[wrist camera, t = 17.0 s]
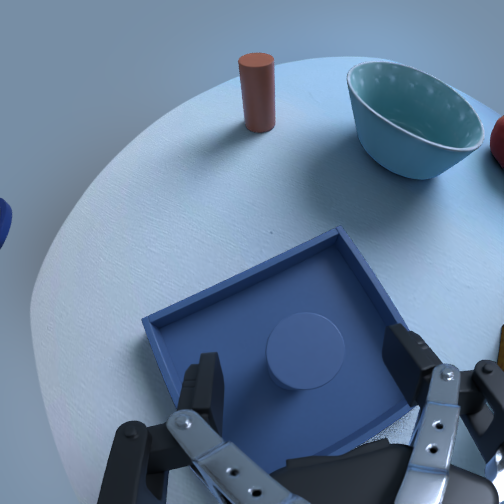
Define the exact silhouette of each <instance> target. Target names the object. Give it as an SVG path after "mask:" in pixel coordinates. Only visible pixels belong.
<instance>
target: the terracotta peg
mask: <svg viewBox="0 0 504 504" xmlns="http://www.w3.org/2000/svg"><path fill="white" fill-rule="evenodd" d="M238 63H239V72H240V81H241V90H242V100H243V109H244V118H245V126H246V128H247V129H248V130H250V131H252V132H257V133H262V132H267V131H269V130H271V129H272V128H273V127H274V126H275V77H274V58H273V57H272V56H271V55H268V54H265V53H250V54H246V55H244V56H242V57H240V58H239V60H238Z"/></svg>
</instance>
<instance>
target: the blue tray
mask: <svg viewBox="0 0 504 504" xmlns="http://www.w3.org/2000/svg"><path fill="white" fill-rule="evenodd" d="M305 312H307V313H315V314H318V315H321V316H323V317H325V318H327V319H328V320H330V321H331V322H332V323H333V324H334V325H335V326H336V327H337V328H338V330H339V331H340V333H341V335H342V337H343V340H344V345H345V357H344V361H343V364H342V367H341V369H340V371H339V372H338V374H337V375H336V376H335V377H334V378H333V379H332V380H331V381H330V382H329V383H327V384H326V385H324V386H322V387H319V388H316V389H312V390H286V389H283V388H281V387H279V386H277V385H276V384H275V383H274V382H273V381H272V379H271V378H270V375H269V372H268V367H267V361H266V354H265V349H266V343H267V339H268V337H269V335H270V333H271V331H272V330H273V328H274V327H275V326H276V325H277V324H278V323H279V322H280V321H282V320H283V319H285V318H286V317H288V316H290V315H293V314H297V313H305ZM141 320H142V323H143V326H144V329H145V332H146V334H147V337H148V340H149V343H150V346H151V348H152V351H153V354H154V356H155V359H156V361H157V364H158V366H159V369H160V371H161V374H162V376H163V379H164V381H165V384H166V386H167V388H168V391H169V393H170V395H171V398H172V400H173V402H174V404H175V407H176V409H177V406H178V401H179V397H180V392H181V388H182V383H183V379H184V375H185V371H186V370H187V369H188V367H189V366H190V365H191V364H199V360H200V355H201V353H207V352H217V353H218V356H219V360H220V364H221V368H222V372H223V377H224V385H225V390H224V407H223V425H222V439H223V440H224V441H226V442H227V441H231V442H232V443H234V444H235V445H236V446H237V447H238V448H239V449H240V450H241V451H242V452H243V453H244V454H246V455H247V456H248V457H249V458H250V459H251V460H252V461H253V462H255V463H256V464H257V465H258V466H259V467H260V468H262V469H263V470H264V471H265V472H266V473H267V474H270V473H272V472H274V471H276V470H278V469H280V468H283V467H285V466H286V460H287V459H294V458H300V457H307V456H339V455H343V454H345V453H347V452H349V451H351V450H352V449H354V448H356V447H357V446H359V445H361V444H362V443H364V442H365V441H367V440H369V439H370V438H372V437H373V436H375V435H376V434H378V433H379V432H381V431H382V430H384V429H385V428H387V427H388V426H390V425H391V424H392V423H394V422H395V421H397V420H398V419H399V418H401V417H402V416H404V415H405V414H406V413H408V412H409V411H410V410H412V409H413V408H414V407H415V406H414V407H411V408H410V406H409V405H408V403H407V401H406V399H405V398H404V396H403V394H402V393H401V391H400V389H399V387H398V386H397V384H396V382H395V381H394V379H393V377H392V376H391V374H390V372H389V371H388V369H387V367H386V366H385V364H384V362H383V359H382V347H383V340H384V332H385V328H386V326H390V325H394V324H399V323H401V324H402V325H403V326H404V327H405V328H406V329H407V331H410V330H409V329H408V327H407V325H406V324H405V322H404V320H403V319H402V317H401V315H400V314H399V312H398V310H397V309H396V307H395V305H394V304H393V302H392V301H391V299H390V297H389V296H388V294H387V293H386V291H385V289H384V288H383V286H382V285H381V283H380V282H379V280H378V278H377V277H376V275H375V274H374V272H373V271H372V269H371V268H370V266H369V265H368V263H367V262H366V260H365V259H364V257H363V256H362V254H361V253H360V251H359V250H358V248H357V247H356V246H355V244H354V243H353V241H352V240H351V238H350V237H349V236H348V234H347V233H346V231H345V230H344V228H343V227H342V226H341V225H340V226H338V227H336V228H334V229H332V230H330V231H328V232H326V233H323V234H321V235H319V236H317V237H315V238H313V239H311V240H309V241H307V242H305V243H303V244H301V245H299V246H296V247H294V248H292V249H290V250H288V251H286V252H284V253H282V254H280V255H278V256H276V257H273V258H271V259H269V260H267V261H265V262H263V263H261V264H259V265H257V266H254V267H252V268H250V269H248V270H246V271H244V272H242V273H240V274H237V275H235V276H233V277H231V278H229V279H227V280H225V281H223V282H220V283H218V284H216V285H214V286H212V287H210V288H208V289H205V290H203V291H201V292H199V293H197V294H195V295H192V296H190V297H188V298H186V299H184V300H182V301H179V302H177V303H175V304H173V305H171V306H169V307H166V308H164V309H162V310H160V311H158V312H156V313H153V314H151V315H149V316H147V317H145V318H142V319H141Z"/></svg>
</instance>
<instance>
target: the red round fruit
mask: <svg viewBox="0 0 504 504" xmlns="http://www.w3.org/2000/svg"><path fill="white" fill-rule="evenodd" d="M490 149H491V152H492V154H493V156H494V157H495V158H496V160H497V161H498V162H499V164H500V165H501V167H502V168H503V169H504V115H503V116H502V117H501V118H499V119H498V120H497V122H496V124H495V126H494V128H493V130H492V133H491V137H490Z"/></svg>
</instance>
